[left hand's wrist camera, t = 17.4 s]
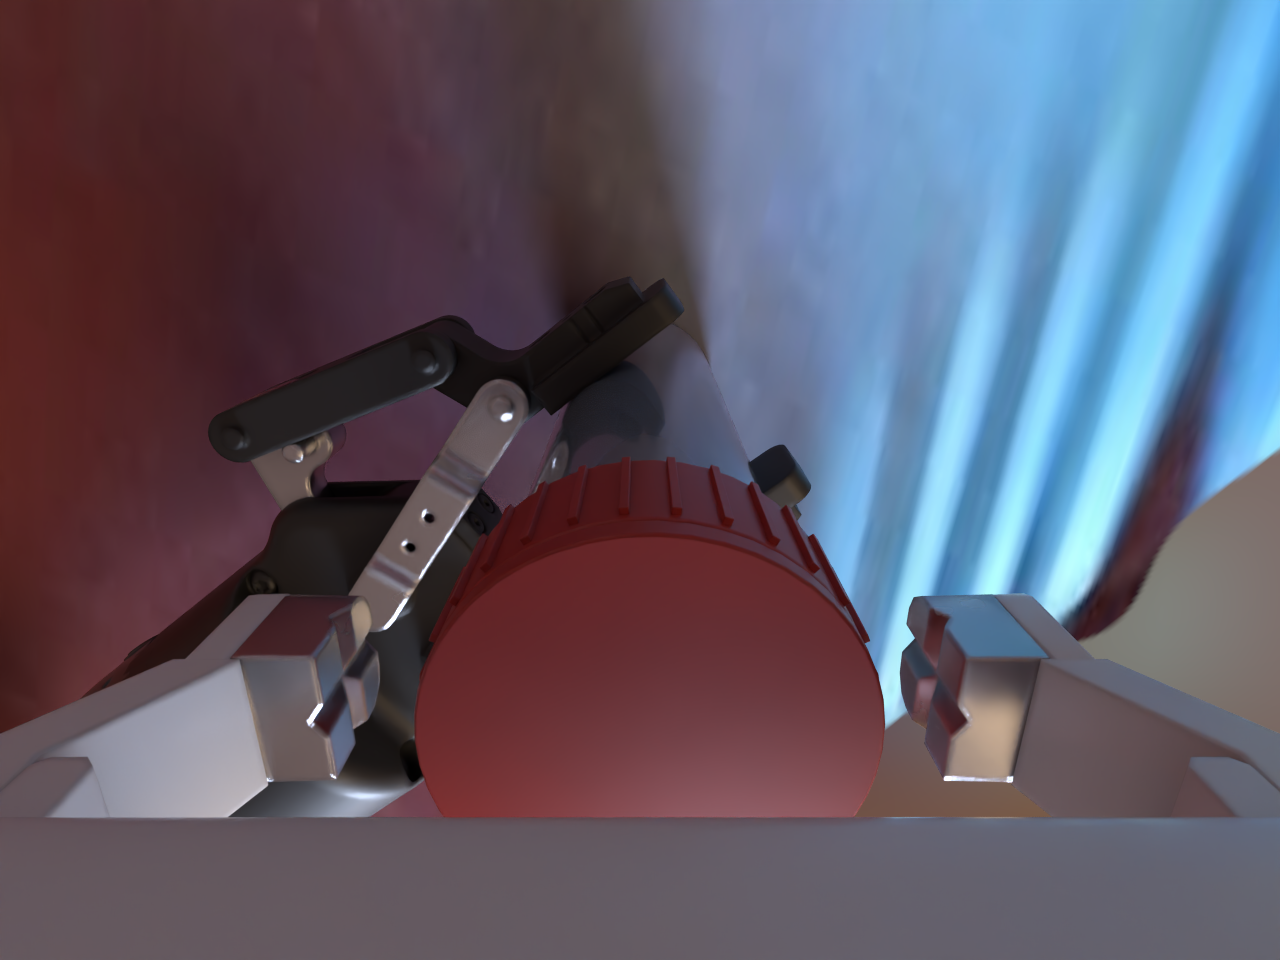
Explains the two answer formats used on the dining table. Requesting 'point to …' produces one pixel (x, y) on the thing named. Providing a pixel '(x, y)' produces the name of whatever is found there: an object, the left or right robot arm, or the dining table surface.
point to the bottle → (648, 415)
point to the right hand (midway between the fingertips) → (734, 384)
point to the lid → (648, 659)
